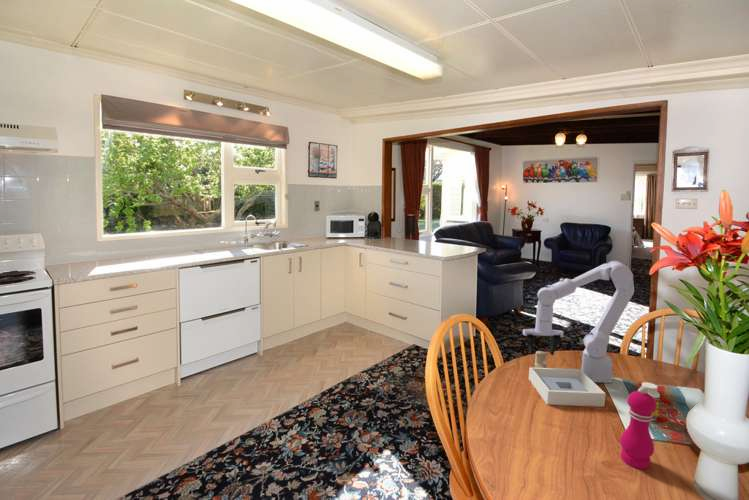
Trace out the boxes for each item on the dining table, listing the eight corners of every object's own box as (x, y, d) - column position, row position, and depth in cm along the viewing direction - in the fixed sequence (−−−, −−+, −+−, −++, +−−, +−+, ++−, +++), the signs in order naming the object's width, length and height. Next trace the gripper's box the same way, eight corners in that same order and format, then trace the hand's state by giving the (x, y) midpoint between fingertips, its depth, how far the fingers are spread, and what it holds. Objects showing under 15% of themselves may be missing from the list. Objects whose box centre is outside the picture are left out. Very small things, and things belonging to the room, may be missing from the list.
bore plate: (575, 383, 144) (575, 378, 144) (591, 400, 132) (592, 395, 132) (541, 382, 144) (541, 377, 144) (554, 399, 132) (554, 393, 132)
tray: (578, 380, 148) (579, 369, 147) (604, 406, 130) (605, 393, 129) (528, 379, 148) (529, 367, 148) (547, 404, 131) (548, 391, 130)
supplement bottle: (651, 423, 121) (655, 391, 119) (631, 414, 125) (635, 383, 124) (660, 418, 124) (664, 386, 122) (640, 409, 128) (643, 379, 127)
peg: (543, 368, 158) (544, 351, 157) (547, 372, 154) (548, 355, 153) (533, 367, 158) (534, 350, 157) (536, 372, 154) (538, 354, 153)
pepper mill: (621, 448, 108) (628, 377, 106) (653, 460, 104) (662, 386, 101) (616, 461, 103) (624, 387, 100) (650, 474, 98) (659, 397, 96)
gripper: (559, 316, 157) (556, 350, 159) (521, 315, 158) (518, 349, 159) (567, 322, 150) (563, 357, 152) (527, 321, 151) (524, 356, 152)
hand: (541, 353), depth 155 cm, fingers open, 7 cm apart
